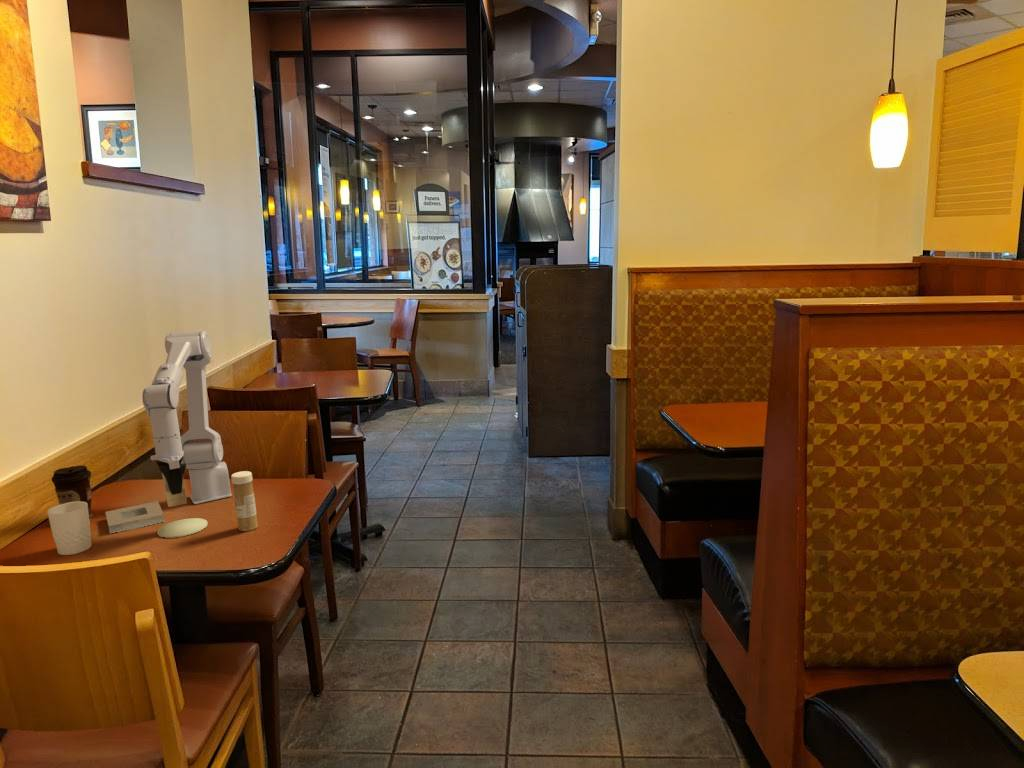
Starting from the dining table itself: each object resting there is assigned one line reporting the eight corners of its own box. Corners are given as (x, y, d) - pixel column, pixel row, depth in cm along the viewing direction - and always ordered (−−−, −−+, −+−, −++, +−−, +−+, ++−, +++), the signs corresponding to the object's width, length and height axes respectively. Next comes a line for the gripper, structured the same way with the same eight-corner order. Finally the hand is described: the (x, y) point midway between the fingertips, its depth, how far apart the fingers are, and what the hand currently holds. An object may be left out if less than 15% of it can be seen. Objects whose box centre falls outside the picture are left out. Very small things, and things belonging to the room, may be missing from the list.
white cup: (65, 543, 176) (57, 502, 174) (100, 540, 176) (93, 499, 174) (48, 558, 168) (39, 515, 166) (85, 555, 169) (77, 512, 167)
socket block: (158, 508, 196) (157, 500, 196) (164, 521, 186) (163, 514, 186) (106, 519, 190) (105, 511, 190) (110, 534, 180) (108, 526, 180)
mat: (203, 516, 188) (203, 514, 188) (211, 530, 179) (211, 528, 179) (154, 527, 183) (154, 525, 183) (160, 542, 173) (160, 540, 173)
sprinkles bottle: (234, 529, 179) (226, 474, 176) (251, 523, 182) (244, 469, 179) (245, 533, 176) (237, 477, 173) (262, 526, 179) (255, 472, 176)
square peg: (184, 498, 182) (179, 466, 181) (187, 503, 179) (182, 470, 177) (166, 502, 180) (161, 470, 179) (168, 507, 177) (163, 474, 175)
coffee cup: (79, 525, 187) (70, 474, 185) (51, 524, 189) (41, 474, 186) (105, 512, 196) (96, 463, 193) (77, 511, 197) (68, 463, 195)
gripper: (144, 432, 181) (153, 486, 183) (151, 445, 168) (160, 503, 171) (176, 426, 184) (184, 480, 187) (185, 439, 172) (193, 496, 174)
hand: (175, 490), depth 179 cm, fingers closed on square peg, 4 cm apart
